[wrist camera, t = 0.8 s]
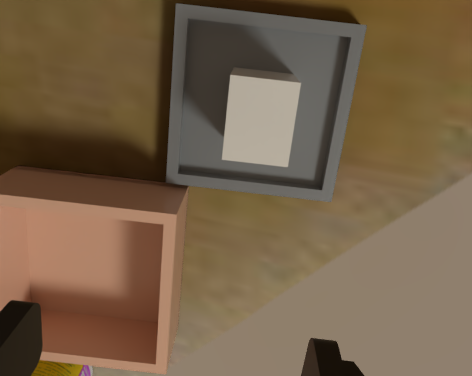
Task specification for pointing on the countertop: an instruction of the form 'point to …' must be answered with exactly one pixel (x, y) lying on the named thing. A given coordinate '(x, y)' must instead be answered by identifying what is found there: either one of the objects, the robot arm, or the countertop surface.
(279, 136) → the cream rectangular block
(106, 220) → the bin
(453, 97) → the countertop surface
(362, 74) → the countertop surface
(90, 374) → the supplement bottle
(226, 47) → the tray
